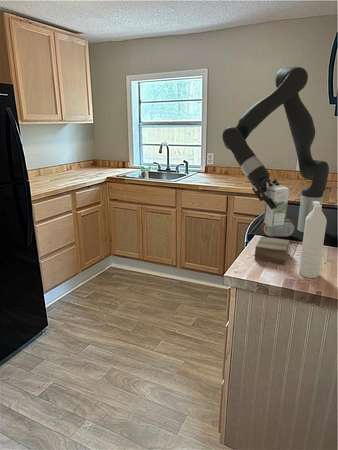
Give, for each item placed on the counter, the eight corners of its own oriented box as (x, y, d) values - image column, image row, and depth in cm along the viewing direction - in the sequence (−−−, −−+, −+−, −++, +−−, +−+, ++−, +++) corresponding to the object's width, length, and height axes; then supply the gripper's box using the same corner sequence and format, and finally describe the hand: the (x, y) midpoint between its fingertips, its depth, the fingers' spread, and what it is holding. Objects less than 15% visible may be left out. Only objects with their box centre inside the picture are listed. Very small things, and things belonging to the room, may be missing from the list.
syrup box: (276, 221, 127) (280, 184, 122) (285, 225, 121) (289, 188, 117) (263, 222, 125) (266, 185, 121) (272, 227, 120) (275, 189, 115)
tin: (293, 235, 149) (295, 218, 147) (295, 238, 146) (297, 220, 144) (260, 235, 151) (261, 217, 148) (261, 237, 148) (262, 220, 145)
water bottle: (319, 279, 110) (330, 208, 102) (299, 277, 112) (308, 207, 103) (317, 268, 118) (326, 201, 109) (298, 266, 119) (305, 200, 111)
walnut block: (260, 250, 135) (261, 236, 133) (288, 254, 130) (289, 240, 128) (254, 260, 125) (255, 246, 123) (284, 265, 121) (285, 251, 119)
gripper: (250, 167, 117) (276, 204, 113) (271, 162, 126) (296, 196, 122) (237, 179, 122) (262, 215, 118) (258, 174, 131) (282, 207, 127)
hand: (279, 205), depth 120 cm, fingers closed on syrup box, 7 cm apart
